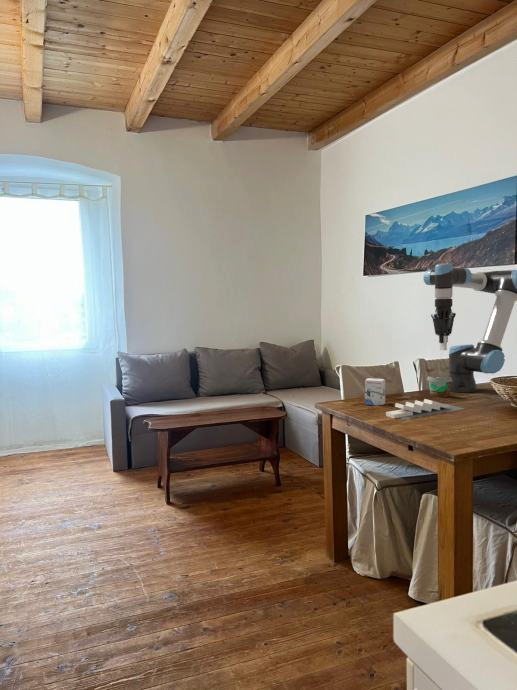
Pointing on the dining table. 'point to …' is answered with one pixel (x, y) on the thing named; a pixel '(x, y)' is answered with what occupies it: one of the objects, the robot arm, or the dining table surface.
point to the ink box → (374, 391)
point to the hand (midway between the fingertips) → (443, 349)
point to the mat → (432, 412)
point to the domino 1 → (399, 413)
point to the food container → (439, 386)
